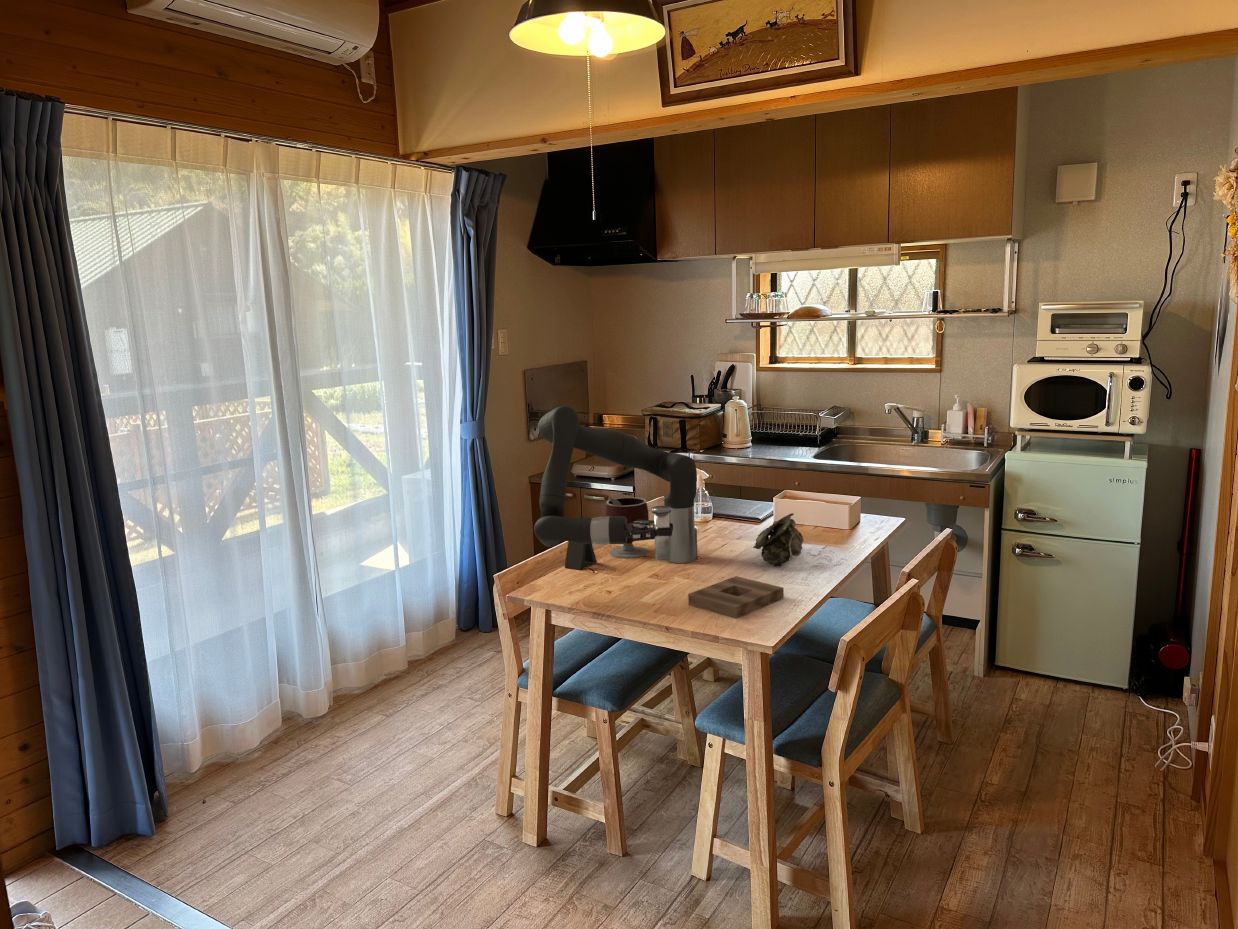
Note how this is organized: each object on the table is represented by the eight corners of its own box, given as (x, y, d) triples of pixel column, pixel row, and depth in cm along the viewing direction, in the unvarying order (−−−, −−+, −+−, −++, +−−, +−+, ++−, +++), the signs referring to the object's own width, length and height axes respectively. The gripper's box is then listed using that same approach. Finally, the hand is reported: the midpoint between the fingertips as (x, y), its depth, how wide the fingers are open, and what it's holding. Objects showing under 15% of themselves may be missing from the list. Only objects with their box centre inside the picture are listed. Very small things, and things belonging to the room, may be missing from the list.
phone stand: (580, 570, 261) (578, 532, 259) (564, 568, 264) (562, 530, 262) (597, 562, 269) (595, 525, 266) (581, 560, 272) (579, 523, 270)
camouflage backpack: (773, 587, 253) (808, 554, 247) (742, 556, 254) (776, 523, 248) (790, 558, 278) (822, 527, 272) (761, 530, 280) (793, 499, 274)
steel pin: (662, 554, 235) (660, 504, 232) (676, 557, 231) (675, 507, 228) (649, 558, 231) (647, 508, 229) (663, 562, 227) (661, 511, 225)
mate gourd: (625, 545, 287) (622, 486, 284) (658, 551, 279) (656, 490, 275) (594, 556, 276) (592, 495, 272) (628, 562, 267) (626, 500, 263)
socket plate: (736, 586, 240) (736, 576, 239) (783, 598, 229) (783, 587, 228) (688, 604, 226) (688, 594, 226) (736, 618, 215) (736, 607, 215)
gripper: (604, 523, 224) (670, 522, 222) (611, 510, 238) (673, 509, 236) (606, 551, 225) (671, 550, 223) (612, 537, 239) (674, 535, 237)
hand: (672, 529), depth 229 cm, fingers closed on steel pin, 4 cm apart
